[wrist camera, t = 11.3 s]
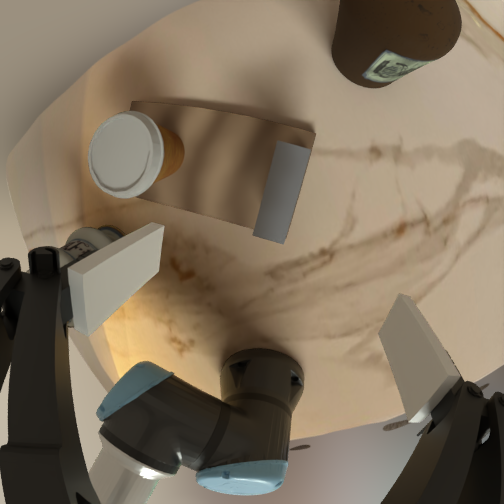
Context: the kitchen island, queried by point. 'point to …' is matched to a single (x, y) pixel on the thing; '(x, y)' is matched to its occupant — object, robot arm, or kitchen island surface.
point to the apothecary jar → (86, 245)
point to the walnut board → (233, 167)
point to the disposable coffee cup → (132, 154)
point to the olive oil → (392, 37)
